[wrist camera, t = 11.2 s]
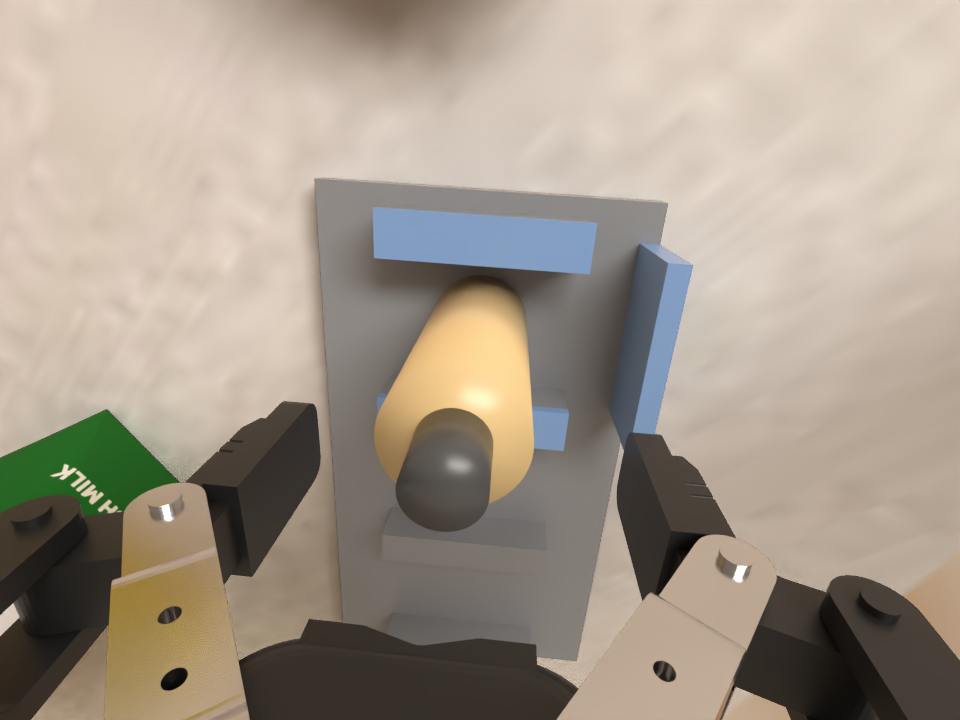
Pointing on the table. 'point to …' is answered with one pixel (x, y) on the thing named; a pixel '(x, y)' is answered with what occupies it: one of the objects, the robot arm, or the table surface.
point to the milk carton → (81, 472)
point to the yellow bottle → (460, 408)
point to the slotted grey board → (554, 393)
